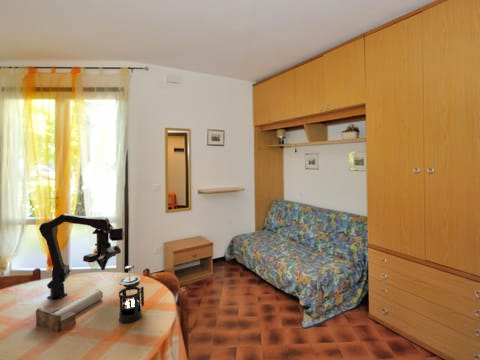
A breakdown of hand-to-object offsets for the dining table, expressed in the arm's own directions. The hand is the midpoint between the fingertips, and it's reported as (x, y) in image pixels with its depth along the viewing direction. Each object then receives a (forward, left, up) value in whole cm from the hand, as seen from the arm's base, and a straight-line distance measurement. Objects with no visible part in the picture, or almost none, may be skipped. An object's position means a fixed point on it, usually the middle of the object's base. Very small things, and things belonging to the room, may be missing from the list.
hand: (103, 270), depth 143 cm
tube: (+7, -19, -12) cm, 24 cm away
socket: (+8, -30, -12) cm, 33 cm away
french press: (+34, -13, -12) cm, 38 cm away
